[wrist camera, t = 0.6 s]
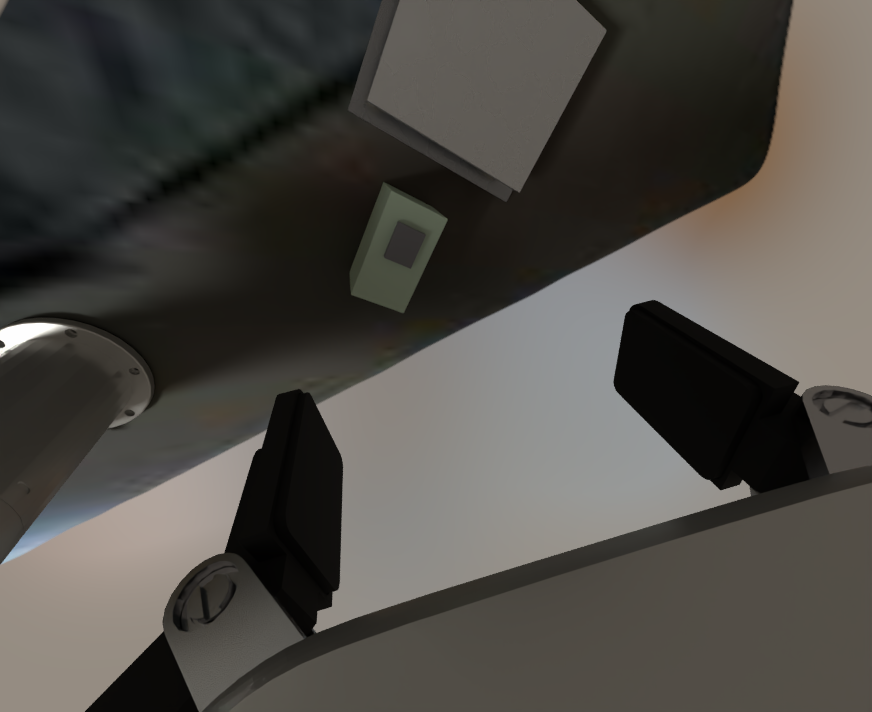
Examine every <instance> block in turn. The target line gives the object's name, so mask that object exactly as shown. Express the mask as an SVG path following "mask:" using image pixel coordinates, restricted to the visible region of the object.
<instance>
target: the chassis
mask: <svg viewBox="0 0 872 712" xmlns="http://www.w3.org/2000/svg"><path fill="white" fill-rule="evenodd" d="M606 31H607V30H606V29H605V28H604V27H603V26H602V25H601V24H600V23H599V22H598V21H597V20H596V19H595V18H594V17H593V16H592V15H591V14H590V13H589V12H588V11H587V10H586V9H585V8H584V7H583V6H582V5H581V4H580V3H579V2H578V1H577V0H382V2H381V5H380V8H379V11H378V15H377V18H376V21H375V24H374V28H373V31H372V34H371V37H370V40H369V44H368V47H367V50H366V53H365V57H364V60H363V63H362V66H361V70H360V73H359V76H358V79H357V82H356V86H355V89H354V92H353V95H352V99H351V102H350V105H349V108H348V111H349V112H351V113H353V114H354V115H356V116H358V117H359V118H361V119H363V120H365V121H366V122H368V123H370V124H372V125H373V126H375V127H377V128H378V129H380V130H382V131H384V132H385V133H387V134H389V135H391V136H392V137H394V138H396V139H397V140H399V141H401V142H403V143H404V144H406V145H408V146H410V147H411V148H413V149H415V150H416V151H418V152H420V153H422V154H423V155H425V156H427V157H429V158H430V159H432V160H434V161H435V162H437V163H439V164H441V165H442V166H444V167H446V168H448V169H449V170H451V171H453V172H455V173H456V174H458V175H460V176H461V177H463V178H465V179H467V180H468V181H470V182H472V183H474V184H475V185H477V186H479V187H480V188H482V189H484V190H486V191H487V192H489V193H491V194H493V195H494V196H496V197H498V198H499V199H501V200H503V201H505V202H507V200H508V198H509V196H510V195H511V193H512V191H513V190H514V191H516V192H519V193H520V191H521V189H522V187H523V185H524V183H525V182H526V180H527V178H528V176H529V174H530V172H531V170H532V169H533V167H534V165H535V163H536V161H537V159H538V157H539V156H540V154H541V152H542V150H543V148H544V146H545V144H546V143H547V141H548V139H549V137H550V135H551V133H552V131H553V130H554V128H555V126H556V124H557V122H558V120H559V118H560V117H561V115H562V113H563V111H564V109H565V107H566V106H567V104H568V102H569V100H570V98H571V96H572V94H573V93H574V91H575V89H576V87H577V85H578V83H579V81H580V80H581V78H582V76H583V74H584V72H585V70H586V68H587V67H588V65H589V63H590V61H591V59H592V57H593V55H594V54H595V52H596V50H597V48H598V46H599V44H600V42H601V41H602V39H603V37H604V35H605V33H606Z"/></svg>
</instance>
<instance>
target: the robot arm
mask: <svg viewBox="0 0 872 712" xmlns="http://www.w3.org/2000/svg"><path fill="white" fill-rule="evenodd" d="M798 384H799V382H798V381H796V380H795V379H793V378H791V377H789V376H788V375H786V374H784V373H782V372H781V371H779V370H777V369H775V368H774V367H772V366H770V365H768V364H767V363H765V362H763V361H761V360H760V359H758V358H756V357H754V356H753V355H751V354H749V353H747V352H746V351H744V350H742V349H740V348H738V347H737V346H735V345H733V344H732V343H730V342H728V341H726V340H725V339H723V338H721V337H719V336H718V335H716V334H714V333H712V332H710V331H709V330H707V329H705V328H704V327H702V326H700V325H698V324H697V323H695V322H693V321H691V320H690V319H688V318H686V317H684V316H683V315H681V314H679V313H677V312H676V311H674V310H672V309H670V308H669V307H667V306H665V305H663V304H662V303H660V302H658V301H655V300H651V301H647V302H643V303H639V304H636V305H633V306H632V307H631V308H630V310H629V311H628V312H627V313H626V315H625V319H624V325H623V331H622V336H621V342H620V348H619V354H618V359H617V365H616V370H615V376H614V387H615V389H616V391H617V392H618V393H619V394H620V395H621V396H622V397H623V398H624V399H625V400H626V401H627V402H628V403H629V405H631V406H632V408H633V409H634V410H636V412H637V413H639V415H640V416H641V417H643V418H644V420H645V421H647V423H648V424H649V425H650V426H651V427H652V428H654V430H655V431H656V432H657V433H658V434H659V435H661V437H663V438H664V439H665V440H666V442H667V443H668V444H669V445H670V446H671V447H672V448H673V449H674V450H675V451H676V452H677V453H678V454H679V455H680V456H681V457H682V458H683V459H684V460H686V462H687V463H688V464H690V466H691V467H692V468H693V469H694V470H695V471H696V472H698V474H699V475H700V476H702V477H703V478H705V479H707V480H710V481H711V482H713V484H715V485H716V486H717V487H718V488H719V489H720V490H723V489H726V488H730V487H733V486H737V485H740V483H741V481H742V480H744V481H745V482H746V483H747V484H748V485H749V486H750V492H751V497H747V498H744V499H741V500H737V501H734V502H731V503H727V504H724V505H721V506H717V507H714V508H710V509H707V510H704V511H700V512H697V513H694V514H690V515H687V516H684V517H680V518H677V519H673V520H670V521H667V522H663V523H660V524H657V525H653V526H650V527H647V528H643V529H640V530H637V531H634V532H630V533H627V534H624V535H620V536H617V537H614V538H610V539H608V540H604V541H601V542H597V543H594V544H591V545H587V546H584V547H581V548H577V549H574V550H571V551H567V552H564V553H561V554H558V555H554V556H551V557H548V558H545V559H541V560H538V561H535V562H532V563H528V564H525V565H522V566H518V567H515V568H512V569H509V570H505V571H502V572H499V573H496V574H492V575H489V576H486V577H483V578H479V579H476V580H473V581H470V582H466V583H463V584H460V585H457V586H454V587H450V588H447V589H444V590H441V591H437V592H434V593H431V594H428V595H425V596H422V597H419V598H416V599H413V600H410V601H406V602H403V603H400V604H397V605H394V606H391V607H388V608H385V609H382V610H379V611H376V612H373V613H370V614H367V615H364V616H361V617H358V618H355V619H352V620H349V621H347V622H344V623H342V624H339V625H337V626H334V627H331V628H329V629H326V630H323V631H321V632H318V633H316V632H315V631H314V629H313V627H314V626H315V624H316V622H317V611H319V610H322V609H326V608H329V607H332V592H333V591H336V590H338V588H339V583H340V551H341V517H342V515H341V514H342V481H343V462H342V458H341V455H340V453H339V451H338V449H337V447H336V445H335V443H334V440H333V438H332V437H331V435H330V432H329V430H328V429H327V426H326V425H325V423H324V420H323V418H322V416H321V415H320V412H319V410H318V408H317V406H316V404H315V402H314V400H313V398H312V396H311V395H310V393H308V392H307V393H303V392H302V391H301V390H300V389H297V390H294V391H290V392H286V393H282V394H279V395H277V397H276V400H275V404H274V407H273V411H272V414H271V418H270V421H269V425H268V428H267V432H266V435H265V439H264V443H263V446H262V449H258V450H257V451H256V453H255V455H254V457H253V460H252V463H251V467H250V470H249V473H248V476H247V480H246V483H245V486H244V490H243V493H242V497H241V500H240V503H239V506H238V510H237V513H236V516H235V520H234V523H233V526H232V529H231V533H230V536H229V539H228V543H227V546H226V550H225V553H224V554H218V555H215V556H213V557H211V558H209V559H207V560H205V561H203V562H202V563H200V564H199V565H198V566H196V567H195V568H194V569H192V570H191V571H190V572H189V573H188V574H187V575H186V577H185V578H184V579H183V580H182V581H181V582H180V583H179V585H178V586H177V588H176V589H175V590H174V592H173V593H172V595H171V597H170V599H169V601H168V604H167V606H166V608H165V612H164V617H163V628H164V632H163V633H162V634H161V635H160V636H159V637H158V638H157V639H156V640H155V641H154V642H153V643H152V644H151V645H150V646H149V647H148V648H147V649H146V650H145V651H144V652H143V653H142V654H141V655H140V656H139V657H138V658H137V659H136V660H135V661H134V662H133V663H132V664H131V665H130V666H129V667H128V668H127V669H126V670H125V671H124V672H123V673H122V674H121V675H120V676H119V677H118V678H117V679H116V681H114V682H113V683H112V684H111V685H110V687H108V689H107V690H106V691H105V692H104V693H103V694H102V695H101V696H100V697H99V698H98V699H97V700H96V701H95V702H94V703H93V704H92V705H91V706H90V707H89V708H88V709H87V710H86V711H85V712H872V396H871V395H868V394H866V393H863V392H860V391H856V390H853V389H849V388H844V387H839V386H826V385H825V386H815V387H812V388H809V389H807V390H806V391H805V392H804V393H803V394H802V396H801V397H800V396H799V395H797V394H795V393H794V391H795V389H796V387H797V385H798ZM154 388H155V385H154V378H153V375H152V373H151V370H150V368H149V366H148V365H147V364H146V362H145V361H144V359H143V358H142V357H141V356H140V355H139V354H138V353H137V352H136V351H135V350H134V349H133V348H132V347H131V346H129V345H128V344H126V343H125V342H124V341H122V340H121V339H119V338H118V337H116V336H114V335H112V334H110V333H108V332H107V331H104V330H102V329H99V328H97V327H94V326H92V325H88V324H85V323H81V322H77V321H74V320H67V319H60V318H32V319H24V320H20V321H17V322H14V323H11V324H8V325H6V326H4V327H3V328H1V329H0V564H1V563H2V562H3V561H4V559H5V558H6V557H7V555H8V554H9V553H10V552H11V550H12V549H13V548H14V547H15V545H16V544H17V543H18V542H19V540H20V539H21V537H22V536H23V535H24V534H25V532H26V531H27V530H28V529H29V527H30V526H31V525H32V523H33V522H34V521H35V520H36V518H37V517H38V516H39V515H40V513H41V512H42V511H43V510H44V508H45V507H46V506H47V505H48V503H49V502H50V501H51V499H52V498H53V497H54V496H55V494H56V493H57V492H58V491H59V489H60V488H61V487H62V486H63V484H64V483H65V482H66V480H67V479H68V478H69V477H70V475H71V474H72V473H73V472H74V470H75V469H76V468H77V467H78V465H79V464H80V463H81V461H82V460H83V459H84V458H85V456H86V455H87V454H88V453H89V451H90V450H91V449H92V448H93V446H94V445H95V444H96V443H97V441H98V440H99V439H100V437H101V436H102V435H103V434H104V432H105V431H106V430H107V429H108V428H113V427H117V426H120V425H123V424H126V423H128V422H130V421H131V420H133V419H135V418H137V417H138V416H139V415H140V414H141V413H142V412H143V411H144V410H145V409H146V407H147V406H148V405H149V403H150V401H151V399H152V397H153V395H154Z"/></svg>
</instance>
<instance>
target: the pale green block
mask: <svg viewBox="0 0 872 712" xmlns="http://www.w3.org/2000/svg"><path fill="white" fill-rule="evenodd" d="M447 220H448V219H447V218H446V217H444V216H443V215H442V214H441V213H439V212H438V211H437V210H436V209H434V208H433V207H432V206H430V205H428V204H426V203H424V202H422V201H420V200H418V199H416V198H414V197H412V196H410V195H408V194H406V193H404V192H402V191H401V190H399V189H397V188H395V187H393V186H391V185H389V184H387V183H385V182H383V184H382V187H381V190H380V192H379V195H378V198H377V200H376V203H375V206H374V208H373V211H372V214H371V216H370V219H369V222H368V224H367V227H366V229H365V232H364V235H363V237H362V240H361V243H360V245H359V248H358V251H357V253H356V256H355V259H354V261H353V264H352V267H351V269H350V272H349V274H350V288H351V295H353V296H356V297H359V298H362V299H364V300H367V301H370V302H373V303H376V304H379V305H381V306H384V307H387V308H390V309H393V310H396V311H398V312H401V313H404V312H405V309H406V307H407V305H408V303H409V301H410V299H411V297H412V295H413V292H414V290H415V288H416V286H417V284H418V282H419V280H420V278H421V275H422V273H423V271H424V269H425V267H426V265H427V263H428V261H429V258H430V256H431V254H432V252H433V250H434V248H435V246H436V244H437V241H438V239H439V237H440V235H441V233H442V231H443V229H444V227H445V224H446V222H447Z"/></svg>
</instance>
